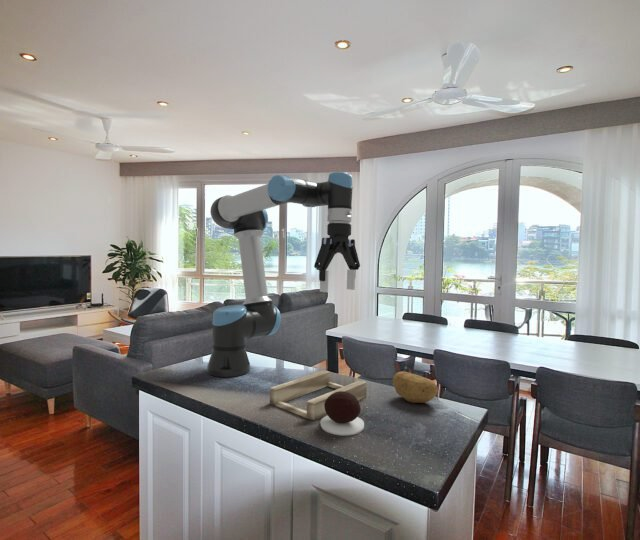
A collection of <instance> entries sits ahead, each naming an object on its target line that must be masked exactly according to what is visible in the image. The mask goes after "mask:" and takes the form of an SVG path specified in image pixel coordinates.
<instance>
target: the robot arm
mask: <svg viewBox="0 0 640 540" xmlns="http://www.w3.org/2000/svg"><path fill="white" fill-rule="evenodd" d="M353 189H354V186H353V176H352V174H351V173H349V172H344V171H335V172H330V173H329V174H328V179H327V181H322V182H314V181H308V180H305V179H301V178H296V177H292V176H289V175H280V174H276V175H273V176H272V177H271V179H269V181H268V183H266V184H263V185H260V186H257V187H255V188H252V189H249V190H246V191H244V192H241V193H238V194H235V195H231V194H230V195H229V194H226V195H224V196H221V197H218V198H216V199H215V200H214V201H213V202H212V204H211V205H210V206H211V207H210V216H211V219H212V221H213V222H214V224H215V225H217V226H218V227H221V228H223V229H228V230H233V236H234V237H235V238H236V239H237V240H238V247H239V253H240V262H241V269H242V272H241V273H242V280H243V288H244V295H245V296H244V297H245V300H244V302H243V303H242V304H233V305H224V306H220V307H218V308H216V309H215V310H214V311H213V314H212V322H211V324H212V351H211V354H210V357H209V360H208V364H207V367H206V368H207V369H206V371H207V374H208V375H211V376H213V377H219V378H232V377H238V376H240V377H241V376H243V375H247V374H248V373H249V372H250V371H251V363H250V360H249V356H248V353H247V350H246V340H251V339H252V340H253V339H256V338H257V339H258V338H265V337H268V336H272V335H274V334H275V333H276V332H277V331H278V329H279V328H280V326H281V320H282V317H281V312H280V310H279V309H278V307H277V306H276V305H274V304H273V299H272V298H271V297H269V295H268V288H267V287H268V286H267V280H266V272H265V264H264V263H265V262H264V255H263V247H262V239H261V238H262V236H263V235H264V234H265V233H264V230H265V229H266V228H267V226H268V223H269V215H268V211H267V210H268V209H270V208H274V207H277V206H282V205H285V204H289V203H291V204H298V205H302V206H303V207H305V208H315V207H322V206H323V207H324V206H327V222H328V223H327V226H326V227H327V228H326V229H327V232H326V233H327V236H329V237H322V238H321V244H320V245H321V246H320V248H319V251H318V254H317V256H316V259H315V262H314V265H313V267H314V268H315V269H316V270H317V271H318V274H319V275H318V280H319V292H321V293H329V270H327V269H328V267H329V266H330V264H331V262H332V260H333V258H334V257H335V255H337V254H341V255H342V257H343V259H344V261H345V263H346V265H347V267H348V269H346V290H351V291H355V288H356V287H355V286H356V276H357V275H356V272H357V271H356V270H359V269H360V267H361V263H360V261H359V260H360V259H359V257H358V252H357V249H356V241H355V239H354V238H352V239H351V238H350V239H349V237H350V236H351V235H352V224H351V223H352V209H353V206H352V203H353V202H352V201H353Z"/></svg>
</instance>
